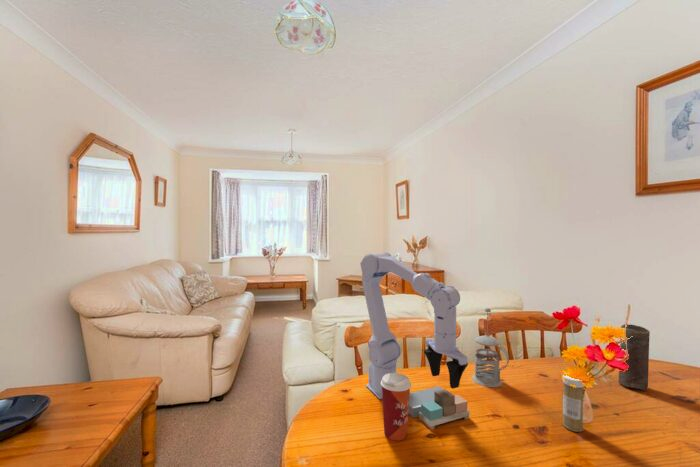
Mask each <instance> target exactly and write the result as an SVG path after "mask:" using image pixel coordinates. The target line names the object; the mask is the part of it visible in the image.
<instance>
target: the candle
mask: <svg viewBox="0 0 700 467" xmlns="http://www.w3.org/2000/svg"><path fill="white" fill-rule="evenodd" d="M626 325H627V327H626V337H627V338H630V337H631V336H633V337H631V338H630V339H628V340H627V349H628V354H629V359H628V360H626V361H625V362H626V363H627V364H628V365H629V368H628V370H626V371H625V372H623V371H619V370H618V383H619V384H621V385H622V386H623V387H627V388H630V387H631V389H634V388H635V389H634V390H638V389H640V390H639V391H642V390H643V391H644V390H647V389H648V386H649V358H650V330H648V329H647V328H645V327H643V326H641V325H635V324H627V323H626ZM621 328H625V324H622V325H621V326H620V329H621ZM621 340H622V339H621V338H620V341H621ZM620 347H621V348H622V349H624V350H626V344H625V342H623V343H621V344H620V345H619V348H620Z"/></svg>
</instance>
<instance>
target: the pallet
mask: <svg viewBox="0 0 700 467" xmlns="http://www.w3.org/2000/svg"><path fill="white" fill-rule="evenodd" d="M455 395H456V394H453V393H452V392H450V391H449V390H448V389H445V388H443V389H442V390H438V391H434V402H435V403H437V404H438V405H439V406H441V407H442V408H443V417H442V418H439V419H435V420H432V421H430V420H429V419H427V418H426V417H425V416H424V415H423V414H422V413H421V412H419V416H418V417H419V419H418V420H420V422H422V423H423V424H424V425H425V426H426V427H427V428H428V429H430V430H431V431H432V430H434V429H435V428H436V426H438V425H441V424H445V423H448V422H451V421H456V420H460V419H462V418H463V419H464V420H467V419H470V410H469V409H467V411H463V412H460V413H455Z"/></svg>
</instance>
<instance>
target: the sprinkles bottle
mask: <svg viewBox="0 0 700 467" xmlns="http://www.w3.org/2000/svg"><path fill="white" fill-rule="evenodd" d="M564 378H565V379H566V381H568V382H566V381H565V379H564ZM562 384H563V392H562V414H563V416H562V417H563V418H562V426H563V427H564V428H565V429H567V430H568V431H571V432H575V433H581V432H583V431H584V423H583V422H584V387H585V386H584V385H585V384H584V385H583V384H582V380H579V379H574V378H571V377H569V376H567V375H566V376H564V375H562ZM570 384H572V385H575V386H576V388H575V387H574V388H573V386H570Z"/></svg>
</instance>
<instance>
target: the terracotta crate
mask: <svg viewBox="0 0 700 467" xmlns="http://www.w3.org/2000/svg"><path fill="white" fill-rule="evenodd" d="M454 395H455V413H460V412H463V411H467V410H468V401H467V400H466V399H465V398H463V397H461V396H460V395H459V394H454Z"/></svg>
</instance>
